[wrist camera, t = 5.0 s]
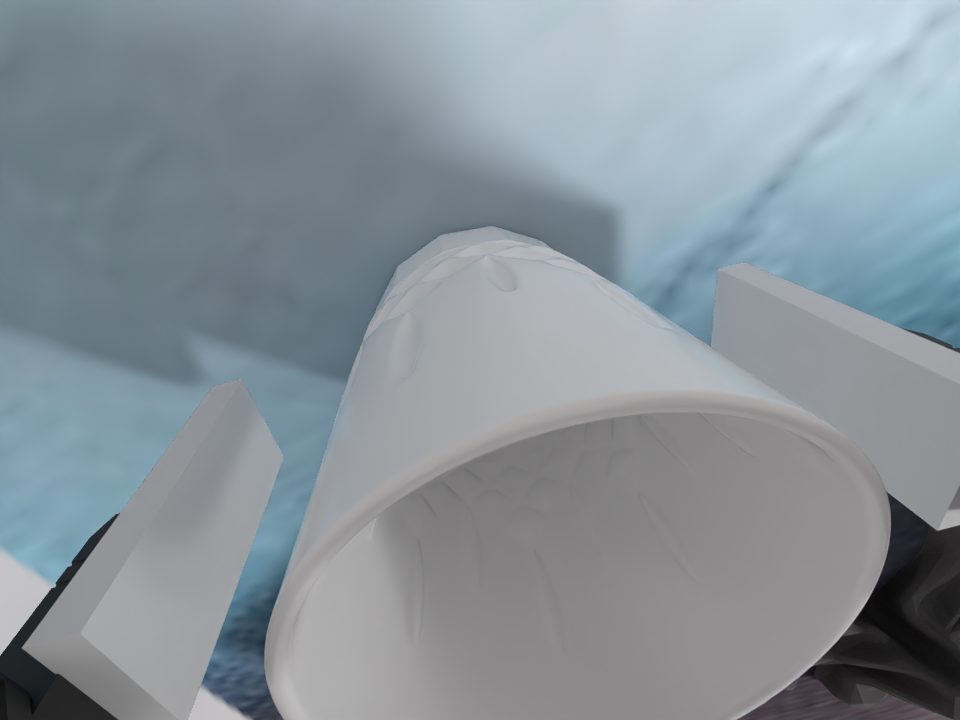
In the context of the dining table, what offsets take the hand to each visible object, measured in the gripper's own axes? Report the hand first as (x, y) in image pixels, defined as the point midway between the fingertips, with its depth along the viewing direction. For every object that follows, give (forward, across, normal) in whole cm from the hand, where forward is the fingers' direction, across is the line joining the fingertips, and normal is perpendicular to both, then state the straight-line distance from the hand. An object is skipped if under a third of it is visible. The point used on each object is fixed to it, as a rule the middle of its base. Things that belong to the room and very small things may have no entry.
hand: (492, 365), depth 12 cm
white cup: (+2, 0, 0) cm, 2 cm away
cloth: (+3, -21, +27) cm, 34 cm away
